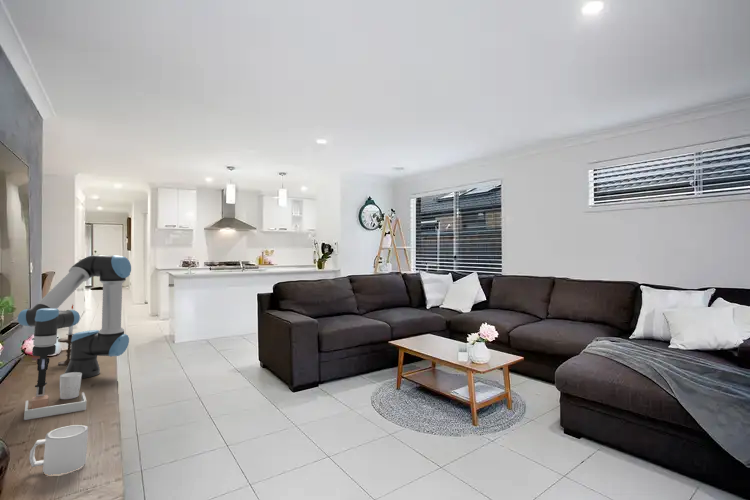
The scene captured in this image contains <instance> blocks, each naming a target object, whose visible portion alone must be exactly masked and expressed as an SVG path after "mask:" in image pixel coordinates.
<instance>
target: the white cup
mask: <svg viewBox="0 0 750 500" xmlns="http://www.w3.org/2000/svg"><path fill="white" fill-rule="evenodd" d="M81 377H82V373H80V372H71V373H65V372H64V373H62V374H60V375H59V399H61V400H72V399H75V398H78V397H79V395H80V389H81V383H82V378H81Z"/></svg>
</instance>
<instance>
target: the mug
mask: <svg viewBox="0 0 750 500" xmlns="http://www.w3.org/2000/svg"><path fill="white" fill-rule="evenodd" d="M88 436H89V427H88V426H87V425H84V424H72V425H66V426H62V427H57V428H56V429H52V430H51V431H48V432H47V433H46V434H45V438H44V439H37V440H36V441H35V443H34V445H33V446H32V447H31V449H30V451H29V458H28V459H29V463H30V465H31V468H34V467H39V466H42V473H43V472H44V473H45V474H48V475H51V474H52V475H53V474H61V473H67V472H70V471H73V470H76V469H78V468H80V467H81V466H83V465H84V464H85V463H86V461H87V449H88V448H87V447H88ZM38 445H39V446H40V445H44V453H43V459H41V460H37V459H36V458H35V455H36V453H35V452H36V447H37V446H38ZM85 465H86V464H85Z"/></svg>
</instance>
